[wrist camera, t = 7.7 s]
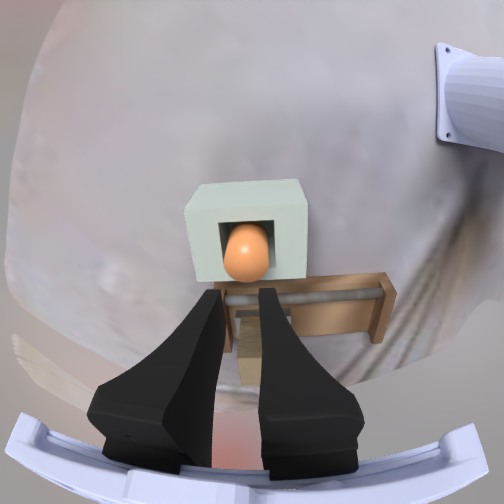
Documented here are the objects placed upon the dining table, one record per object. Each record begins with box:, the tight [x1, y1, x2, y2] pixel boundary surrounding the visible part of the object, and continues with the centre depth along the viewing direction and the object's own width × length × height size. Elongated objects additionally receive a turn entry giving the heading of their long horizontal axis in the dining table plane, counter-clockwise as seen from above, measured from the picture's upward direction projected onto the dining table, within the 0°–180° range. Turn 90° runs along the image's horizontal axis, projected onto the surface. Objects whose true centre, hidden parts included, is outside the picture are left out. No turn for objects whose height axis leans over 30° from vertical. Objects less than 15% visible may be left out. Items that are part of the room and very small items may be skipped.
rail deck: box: [213, 273, 397, 353], centre depth 24 cm, size 15×6×3 cm, turn 94°
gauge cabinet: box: [183, 179, 308, 282], centre depth 19 cm, size 7×5×5 cm
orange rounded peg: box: [224, 221, 269, 283], centre depth 17 cm, size 2×2×3 cm
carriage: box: [235, 308, 291, 385], centre depth 23 cm, size 5×4×5 cm
